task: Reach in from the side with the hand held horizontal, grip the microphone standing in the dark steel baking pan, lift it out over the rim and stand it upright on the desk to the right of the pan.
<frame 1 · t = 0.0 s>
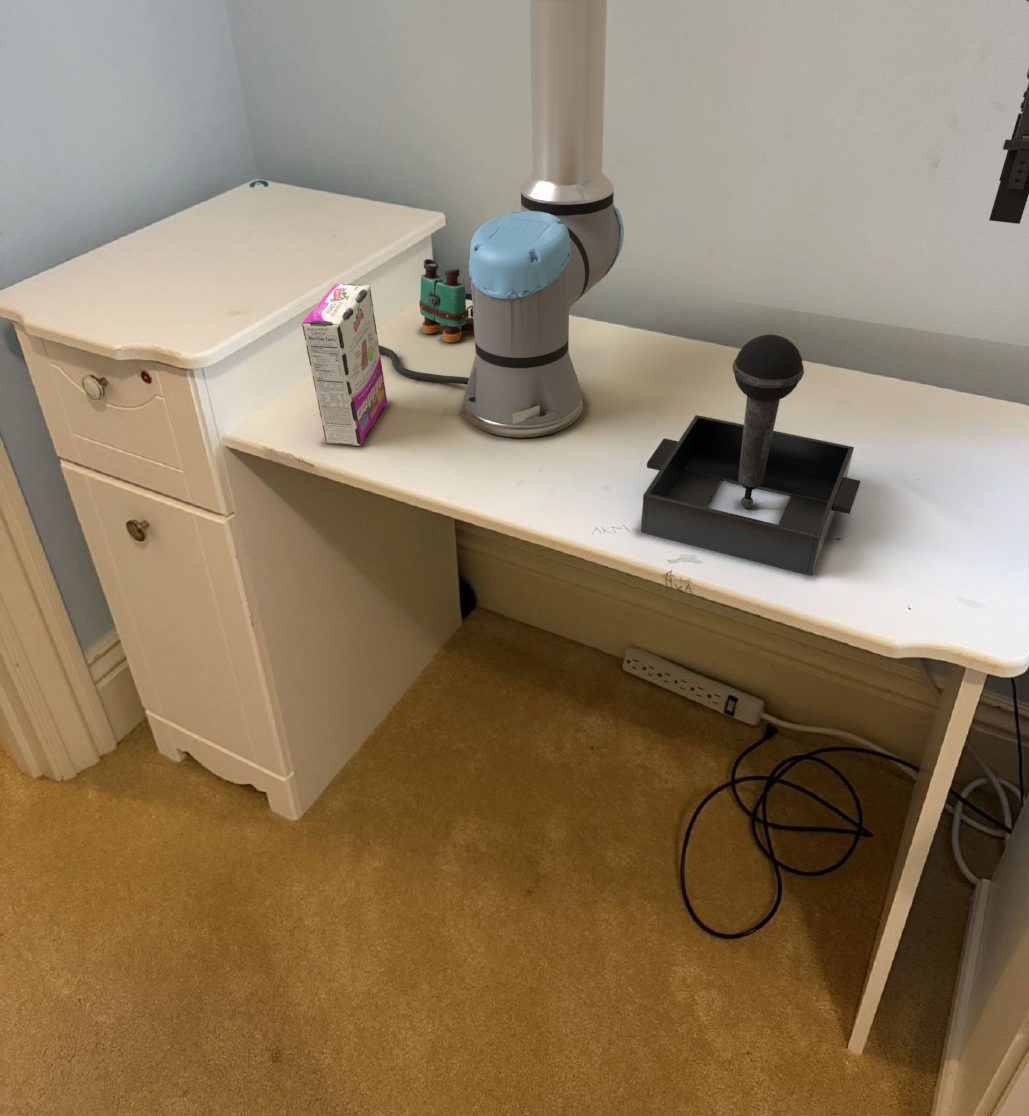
hand: (1008, 200, 93), 28 cm above the table, tool pointing down, fingers open, 13 cm apart
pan: (746, 506, 101), on the table
candy bar box: (356, 425, 117), on the table
binoculars: (456, 329, 139), on the table
microphone: (745, 508, 101), resting in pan
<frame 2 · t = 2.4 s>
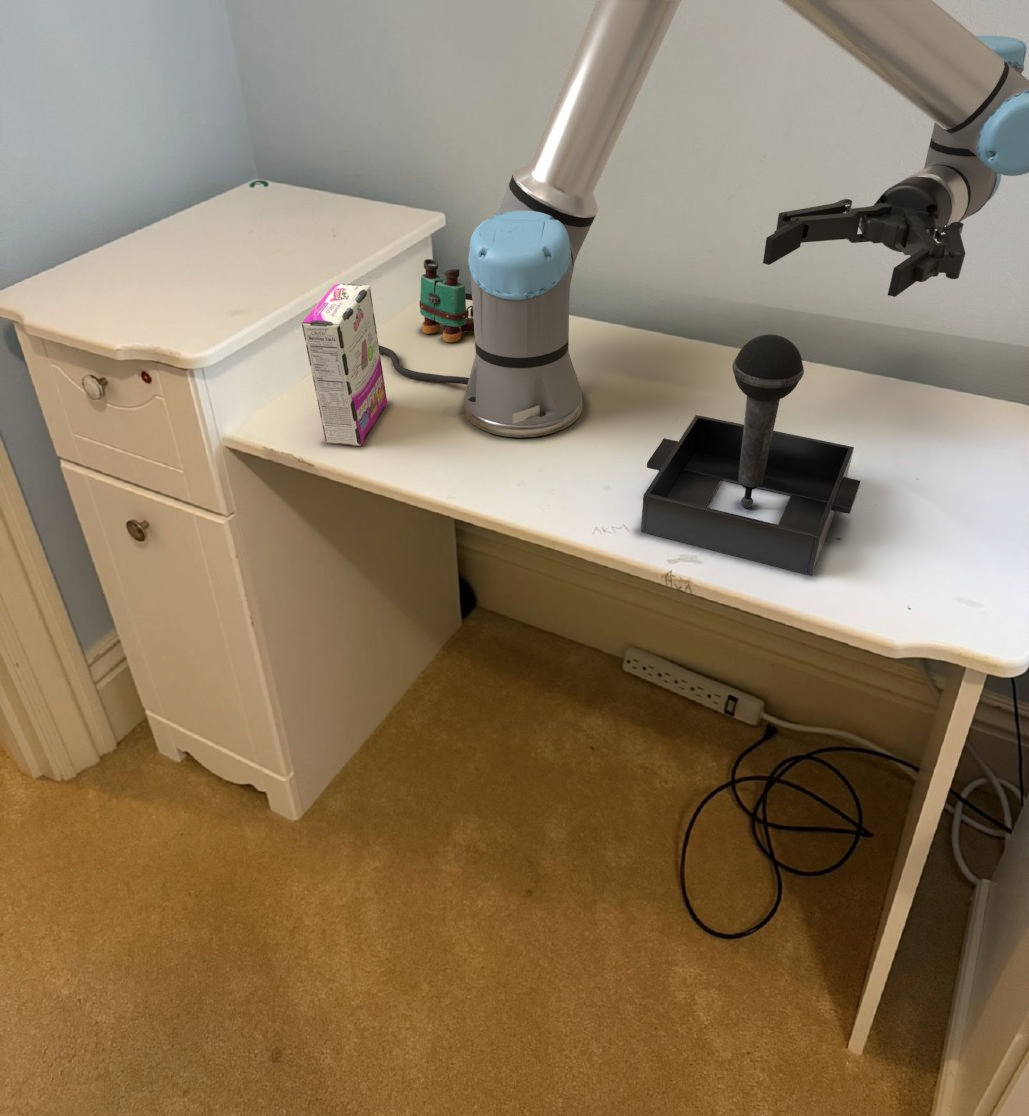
hand: (828, 266, 91), 24 cm above the table, tool horizontal, fingers open, 13 cm apart
nothing on the table moved.
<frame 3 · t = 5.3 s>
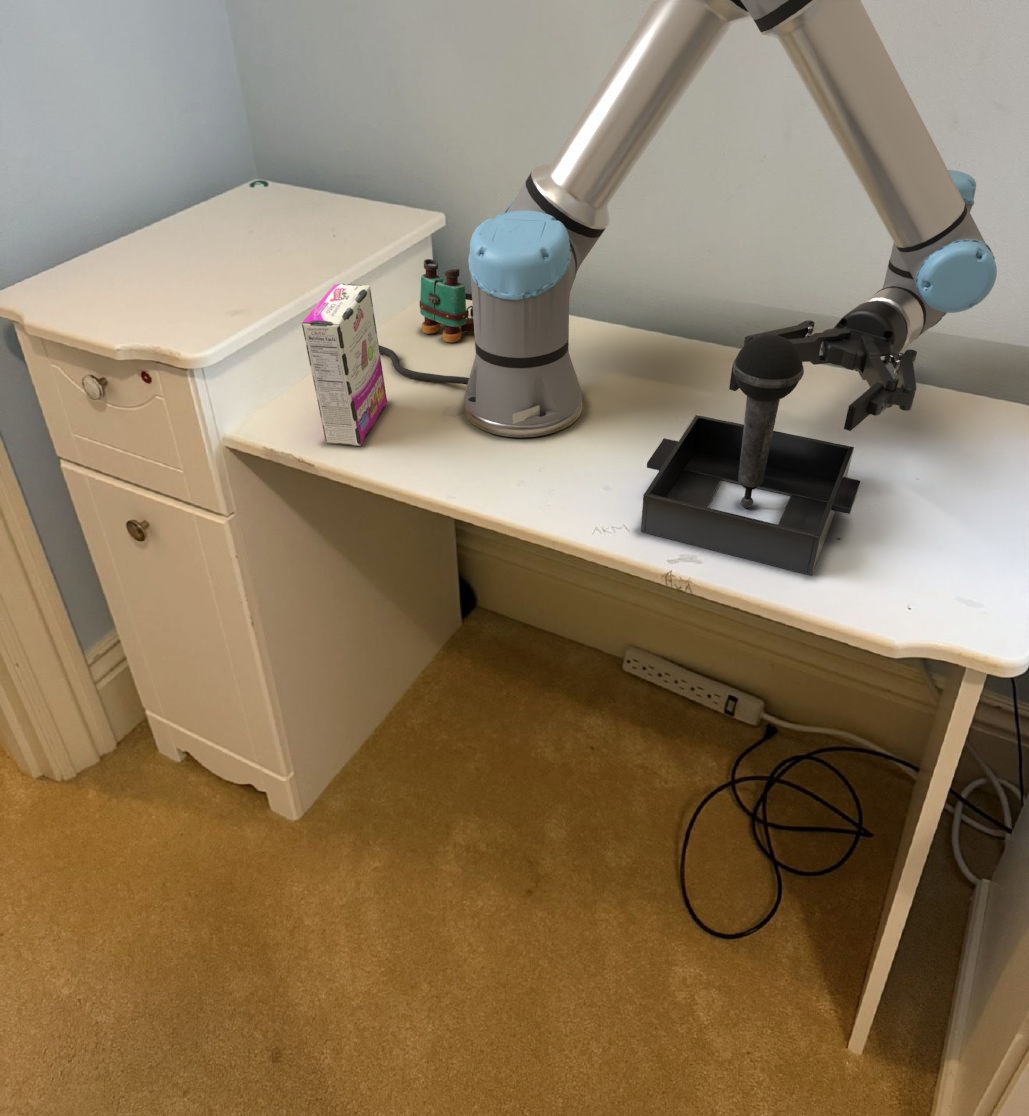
hand: (789, 398, 97), 11 cm above the table, tool horizontal, fingers open, 13 cm apart
nothing on the table moved.
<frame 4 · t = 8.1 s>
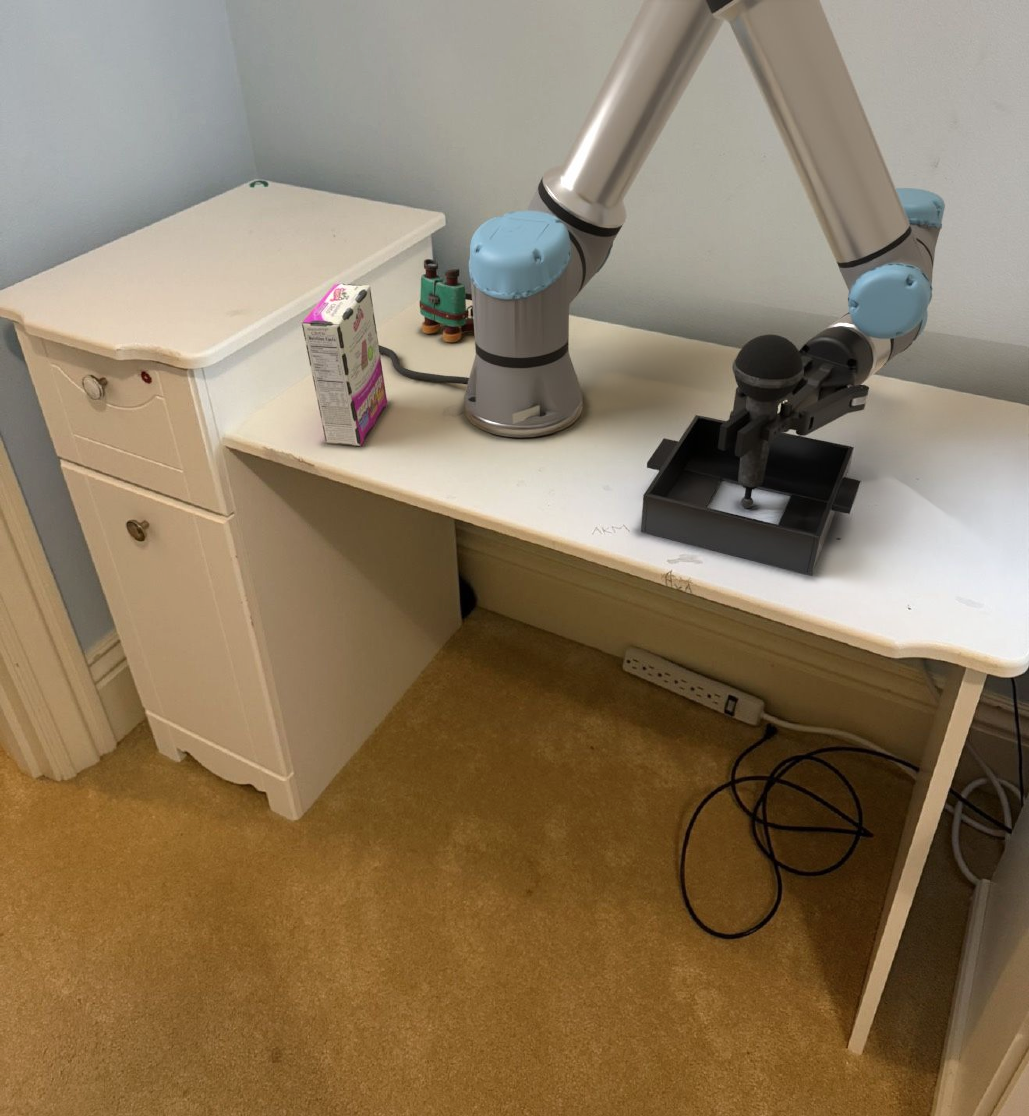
hand: (731, 441, 91), 11 cm above the table, tool horizontal, fingers closed on microphone
microphone: (745, 508, 101), resting in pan, touching gripper
everything else where it was.
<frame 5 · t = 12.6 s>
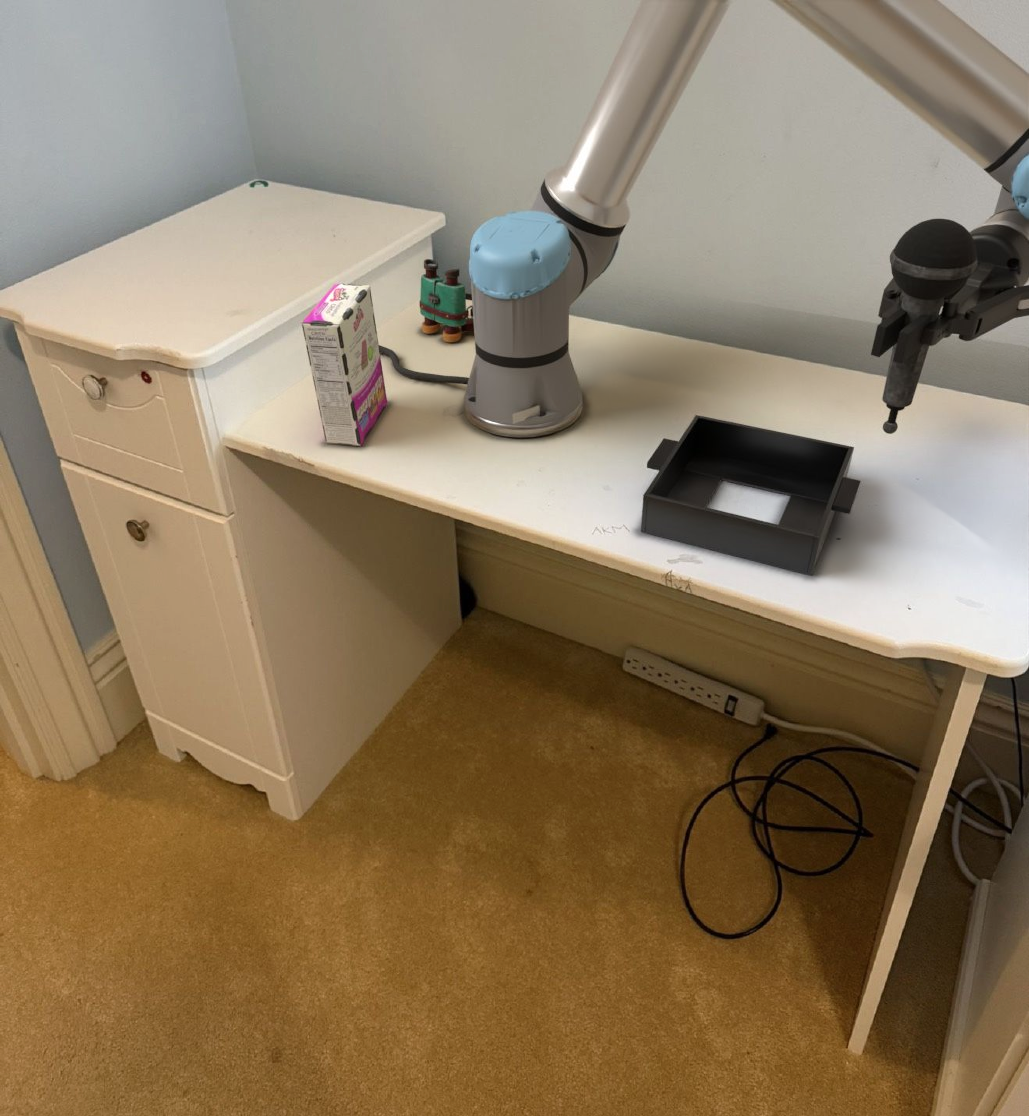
hand: (889, 344, 77), 24 cm above the table, tool horizontal, fingers closed on microphone
microphone: (888, 434, 87), point 13 cm above the table, touching gripper
everything else where it was.
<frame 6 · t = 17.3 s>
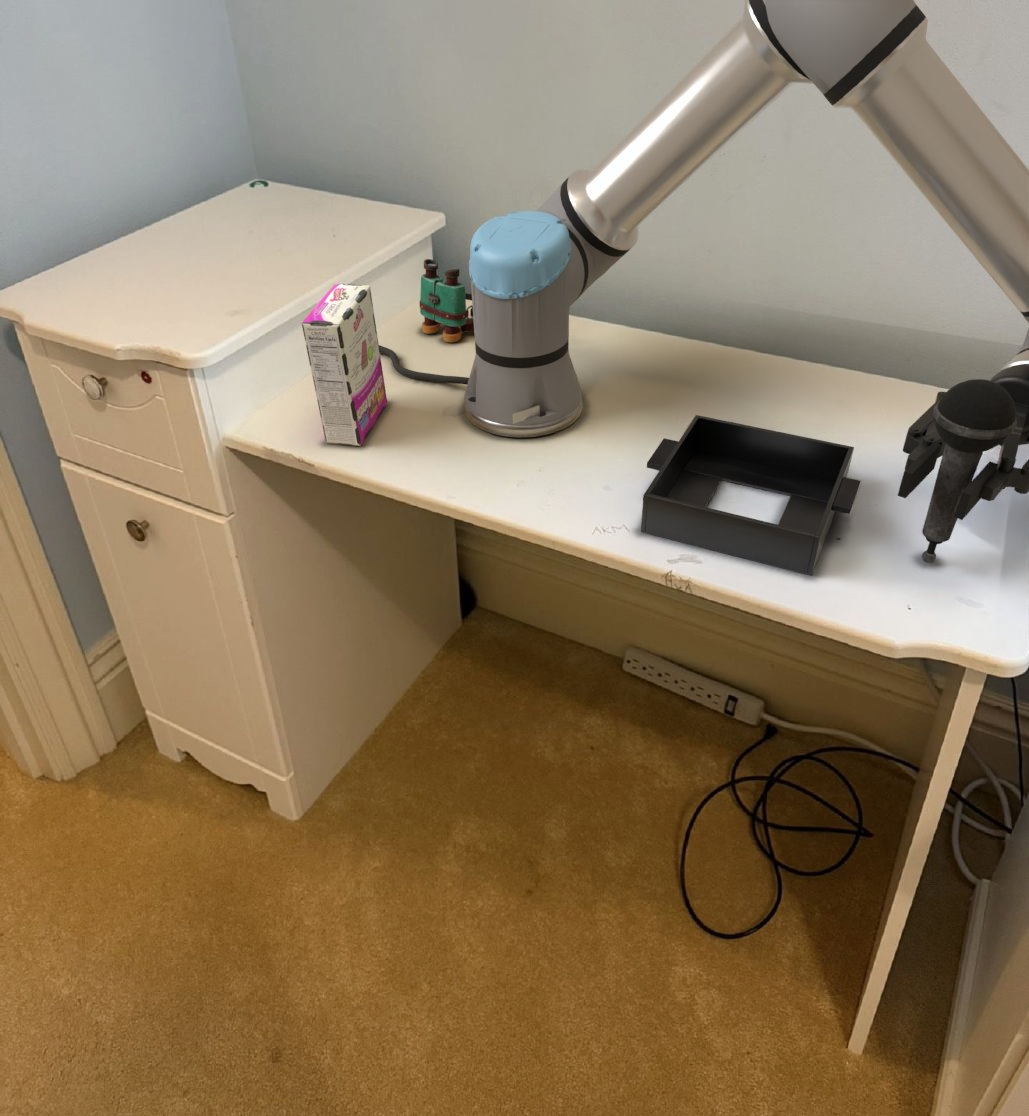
hand: (933, 495, 82), 11 cm above the table, tool horizontal, fingers open, 4 cm apart
microphone: (926, 563, 92), on the table
everything else where it was.
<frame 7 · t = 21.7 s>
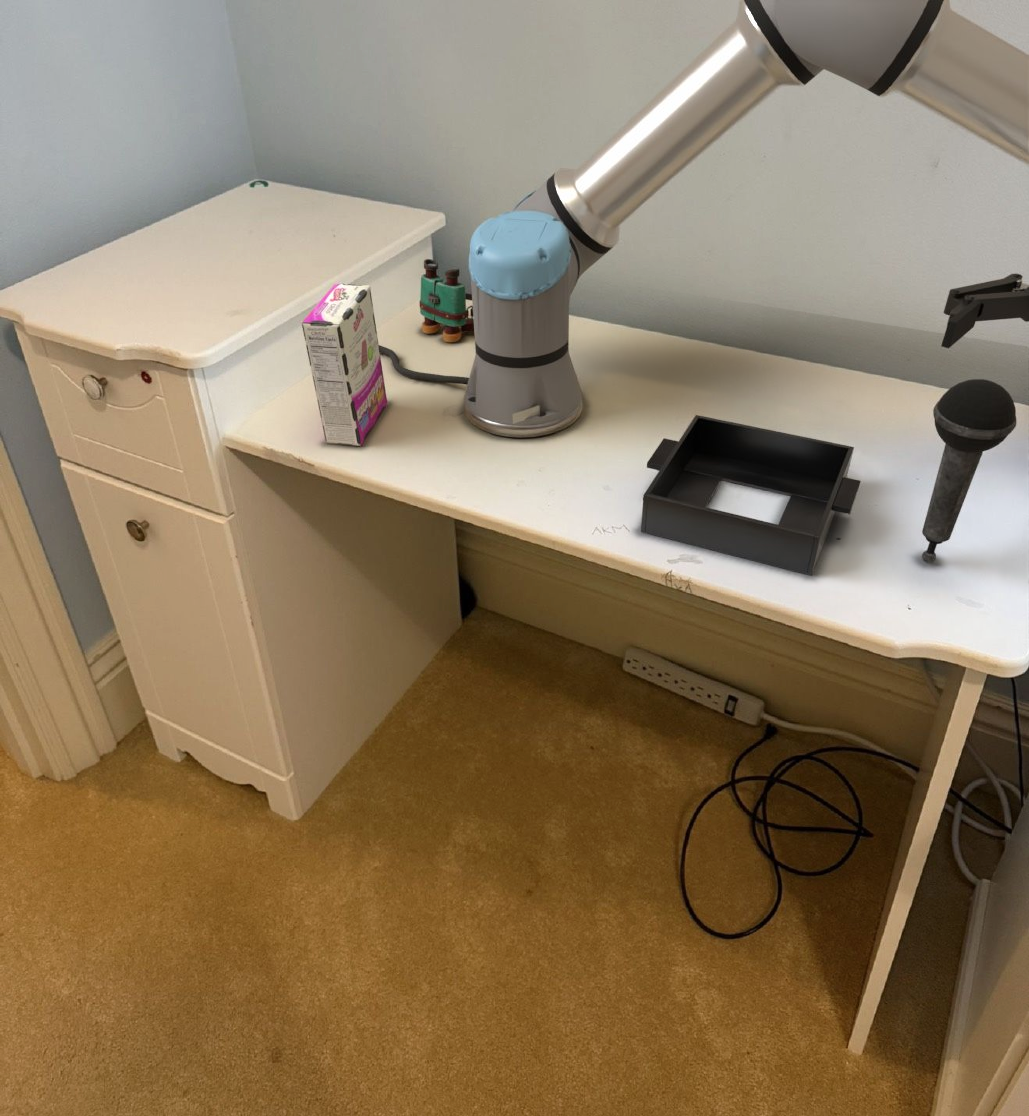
hand: (1020, 354, 86), 19 cm above the table, tool horizontal, fingers open, 13 cm apart
nothing on the table moved.
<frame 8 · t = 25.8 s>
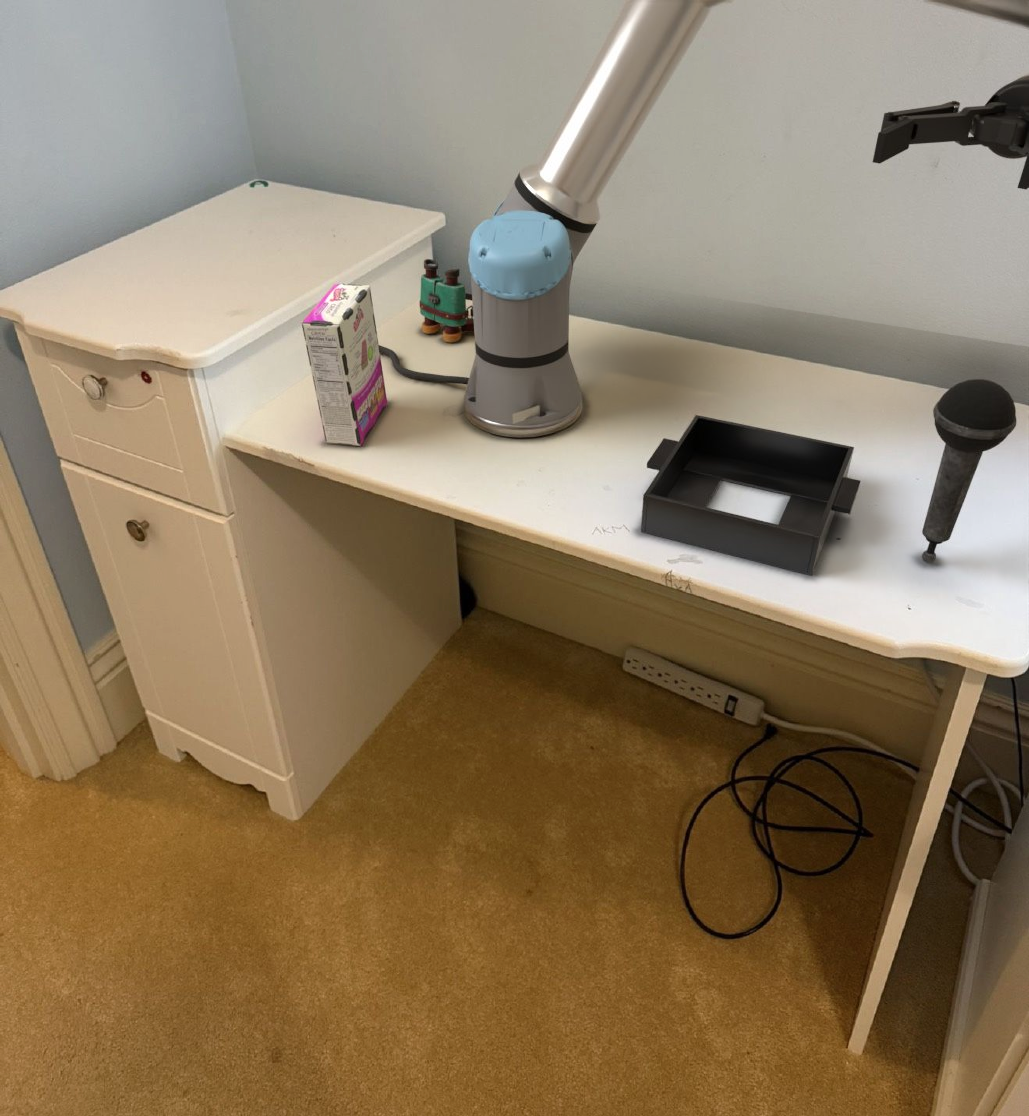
hand: (949, 160, 84), 34 cm above the table, tool horizontal, fingers open, 13 cm apart
nothing on the table moved.
at the end: microphone inside the target area (0.0 cm from its centre), on the table; microphone tilted 0°; microphone touching table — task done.
